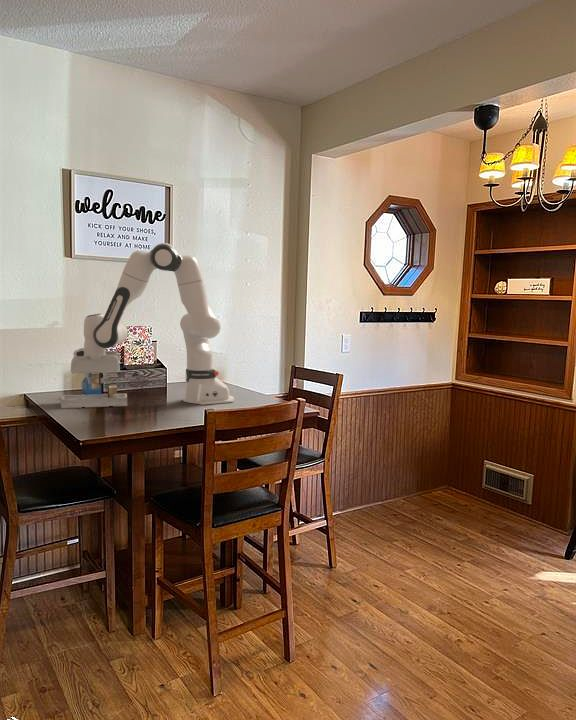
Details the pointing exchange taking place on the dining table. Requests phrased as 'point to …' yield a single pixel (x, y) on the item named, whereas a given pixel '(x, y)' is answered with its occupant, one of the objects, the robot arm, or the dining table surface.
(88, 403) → the rail
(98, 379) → the finger block
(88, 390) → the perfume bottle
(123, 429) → the dining table surface
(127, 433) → the dining table surface
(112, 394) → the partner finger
